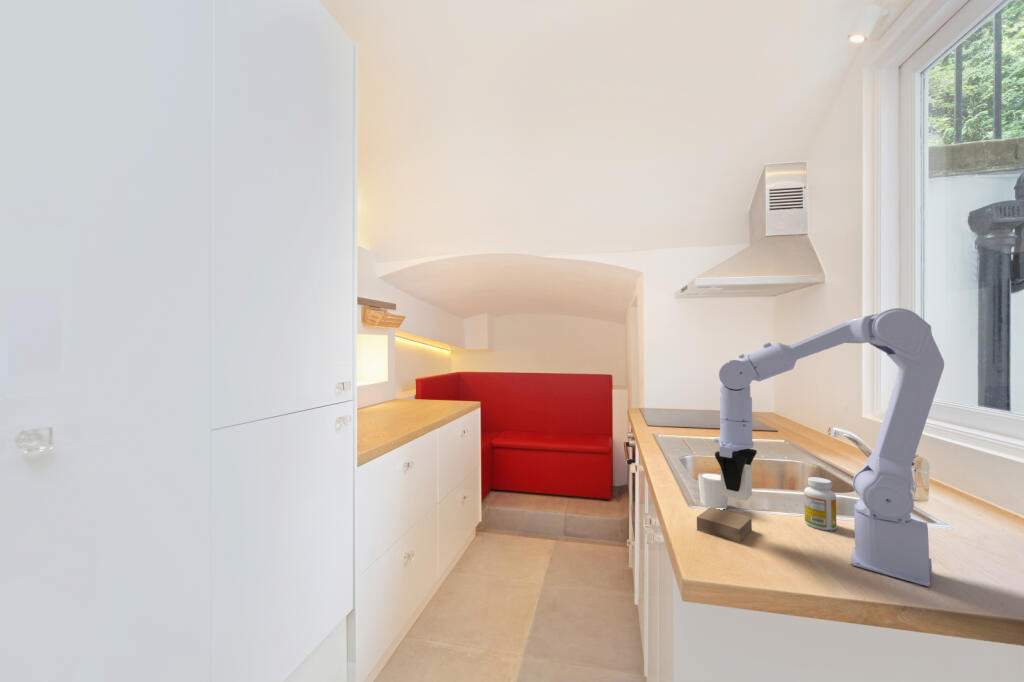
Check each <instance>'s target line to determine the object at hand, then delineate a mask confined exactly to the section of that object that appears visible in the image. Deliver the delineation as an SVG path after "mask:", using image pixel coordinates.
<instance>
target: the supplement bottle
mask: <svg viewBox="0 0 1024 682" xmlns="http://www.w3.org/2000/svg"><path fill="white" fill-rule="evenodd" d="M807 484H808V486H807V487H805V488H804V490H803V491H804V495H803V496H804V500H803V501H804V522H805V524H806V525H807V526H809V527H812V528H814V529H818V530H821V531H828V530H830V531H835V530H836V529H837V527H838V526H837V496H836V495H837V494H836V493H835V492H834V491H833V490H831V489H832V484H833V483H832V481H831V480H830V479H827V478H823V477H818V476H817V477H816V476H815V477H814V476H813V477H812V476H811V477H810V476H809V477H807Z"/></svg>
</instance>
